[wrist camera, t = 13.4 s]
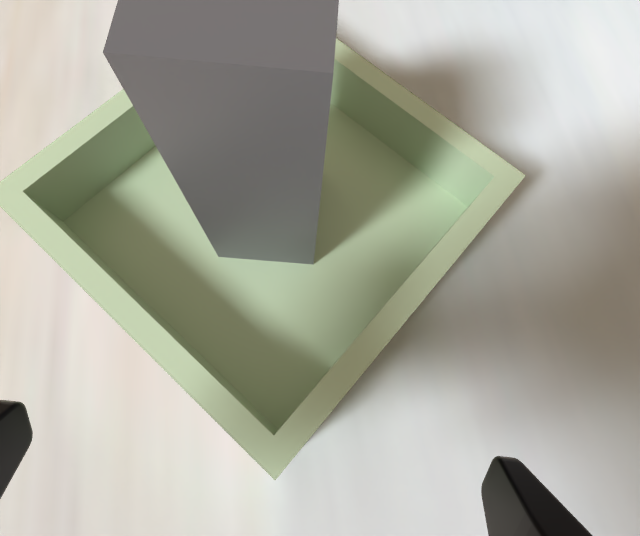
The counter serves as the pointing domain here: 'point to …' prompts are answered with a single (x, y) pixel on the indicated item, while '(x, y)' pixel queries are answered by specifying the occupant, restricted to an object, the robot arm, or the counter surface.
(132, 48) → the grey square pillar
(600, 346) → the counter surface
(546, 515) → the robot arm
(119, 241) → the pale green tray
